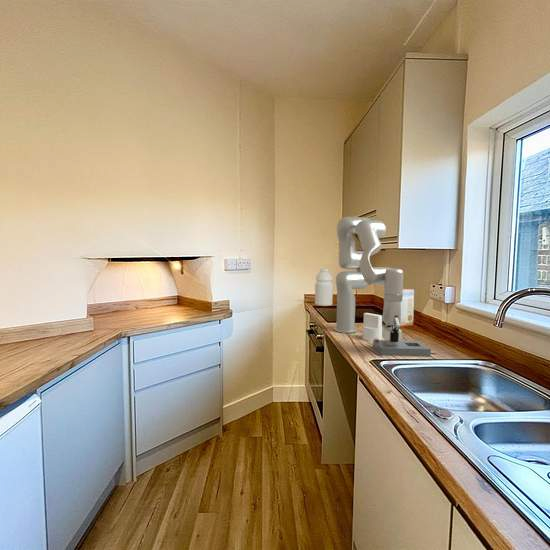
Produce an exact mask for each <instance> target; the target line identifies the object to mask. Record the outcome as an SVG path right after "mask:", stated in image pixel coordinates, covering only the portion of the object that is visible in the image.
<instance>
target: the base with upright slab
mask: <svg viewBox="0 0 550 550" xmlns="http://www.w3.org/2000/svg"><path fill="white" fill-rule="evenodd" d="M382 327H383V315H381V314H375V313H369V312H363V325H362V340H364V339H365V340H364V341H367V340H368V342H373V340H374V339H379V340H383V337H382Z"/></svg>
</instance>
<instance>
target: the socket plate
mask: <svg viewBox="0 0 550 550" xmlns="http://www.w3.org/2000/svg"><path fill="white" fill-rule="evenodd" d="M372 347H373V348H374V349H375V350H376V352H377V353H378V354H379V355H380V354H381V355H380V356H382V355H415V356H414V357H431V355H432V353H431V351H432V348H430V347H428V346H427V345H425V344H424V343H423V342H421V341H420V340H410V339H408V340H407V339H405V340H403V339H402V341H399V340H398V342H397V345H388V344H386V340H385V339H382V340H379V339H374V340H373V341H372Z"/></svg>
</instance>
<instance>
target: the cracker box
mask: <svg viewBox="0 0 550 550" xmlns="http://www.w3.org/2000/svg"><path fill="white" fill-rule="evenodd" d="M414 304H415V289H412V288H403V298H402V302H401V324H400V327H399V328H402V327H409V326H414V309H415V307H414V306H415V305H414ZM393 325H395V324H393Z"/></svg>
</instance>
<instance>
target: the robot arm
mask: <svg viewBox="0 0 550 550" xmlns="http://www.w3.org/2000/svg"><path fill="white" fill-rule="evenodd" d="M386 232H387V227H386V224H385V223H384V222H383V221H382V220H378V219H375V218H372V217H361V216H344V217H341V218H339V220H338V222H337V226H336V234H337V237H338V238H337V239H338V265H339V267H340V268H342V269H346V270H347V271H340V272H339V273H337V274H336V277H335V287H336V325H335V326H334V327H333V329H334V330H335V332H336V331H337V333H341V332H342V333H343V334H353V333H354V332H355V333H357V332H358V328H357V327H355V324H356V322H355V321H356V296H355V294H354V292H353V290H362V289H363V290H364V289H365V288H367V287H368V285H384V286H383V311H382V323H384V324H385V326H384V327H391V333H390V341H391V342H398V337H399V329H400V328H401V327H400V324H401V302H402V298H403V289H404V270H403V269H401V268H393V267H388V266H387V267H386V266H385V267H383V266H381V267H379V266H377V267H374V266H372V264H371V262H370V257H372V256H375V255H376V254H378V253H379V252H380V251H381V250H382V243H381V241H380V239H381V238H383V237H385V235H386ZM352 234H354V235H355V234H356V235H357V238H358V241H359V243H360V246H361V249H362V250H356V240H355V239H354V237H353V235H352ZM351 269H352V270H351ZM353 269H354V270H355V271H353ZM350 270H351V271H350ZM393 324H395V325H393ZM393 328H394V329H393ZM333 329H332V330H333ZM334 330H333V331H334Z"/></svg>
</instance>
